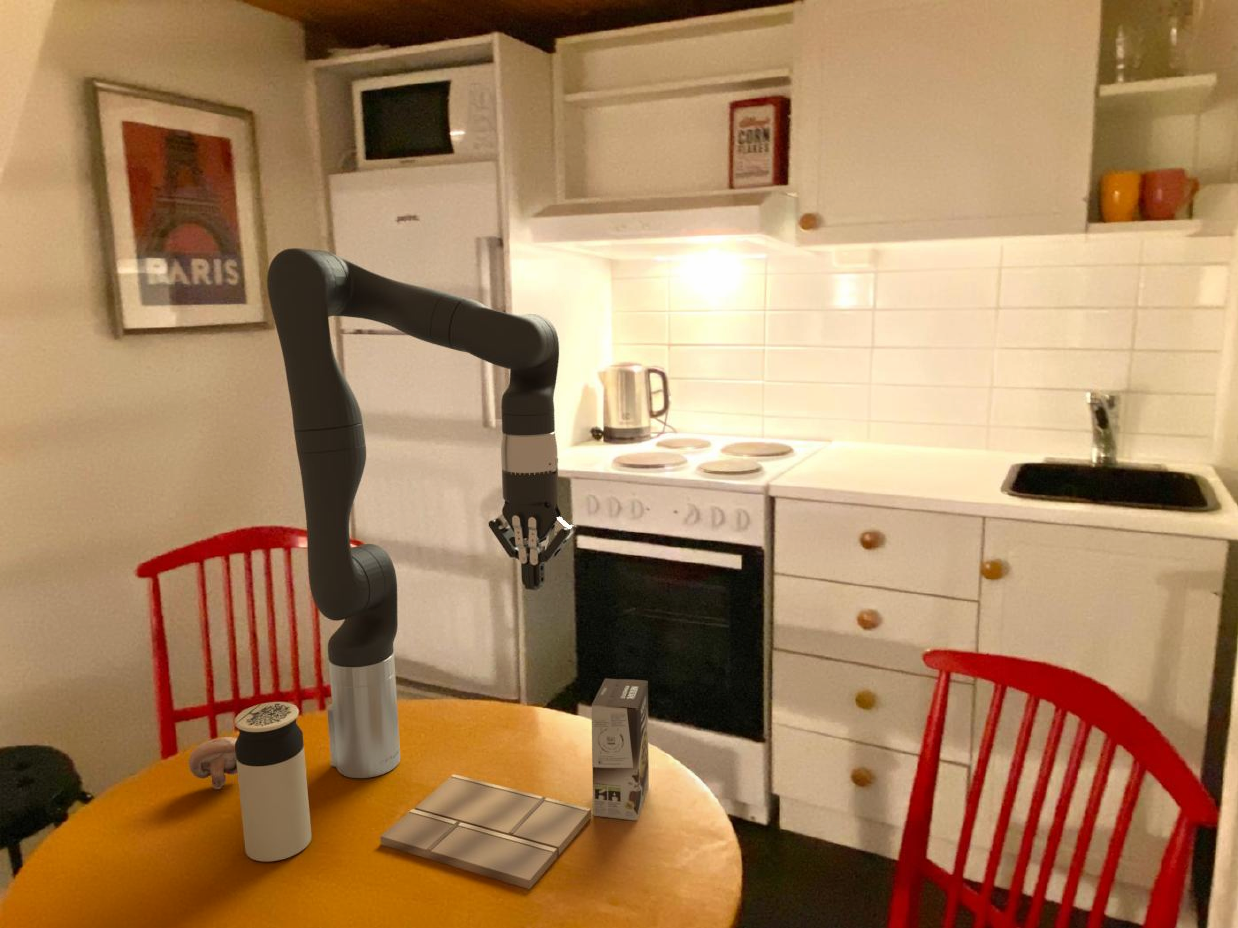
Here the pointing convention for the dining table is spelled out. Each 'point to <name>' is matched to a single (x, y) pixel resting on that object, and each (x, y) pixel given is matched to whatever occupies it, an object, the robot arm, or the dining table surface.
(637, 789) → the coffee box
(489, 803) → the board
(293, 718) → the travel mug
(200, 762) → the mushroom
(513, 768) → the dining table surface
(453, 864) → the laid plank
